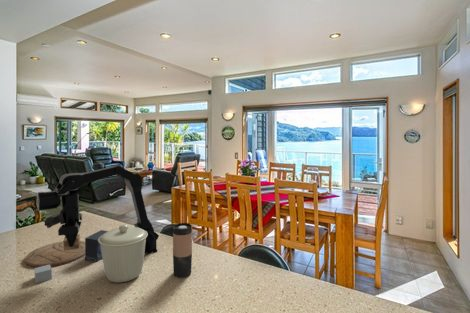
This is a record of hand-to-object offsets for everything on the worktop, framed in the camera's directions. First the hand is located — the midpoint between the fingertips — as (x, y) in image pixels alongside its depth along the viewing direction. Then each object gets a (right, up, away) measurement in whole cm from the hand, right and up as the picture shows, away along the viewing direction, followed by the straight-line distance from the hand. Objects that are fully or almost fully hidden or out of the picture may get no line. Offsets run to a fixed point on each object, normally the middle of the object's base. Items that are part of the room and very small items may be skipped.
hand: (72, 244), depth 102 cm
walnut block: (0, -1, 0) cm, 1 cm away
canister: (+21, -13, +1) cm, 25 cm away
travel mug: (+43, -13, +3) cm, 46 cm away
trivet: (-18, -12, +18) cm, 28 cm away
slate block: (-10, -13, -2) cm, 17 cm away
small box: (+2, -12, +17) cm, 21 cm away
